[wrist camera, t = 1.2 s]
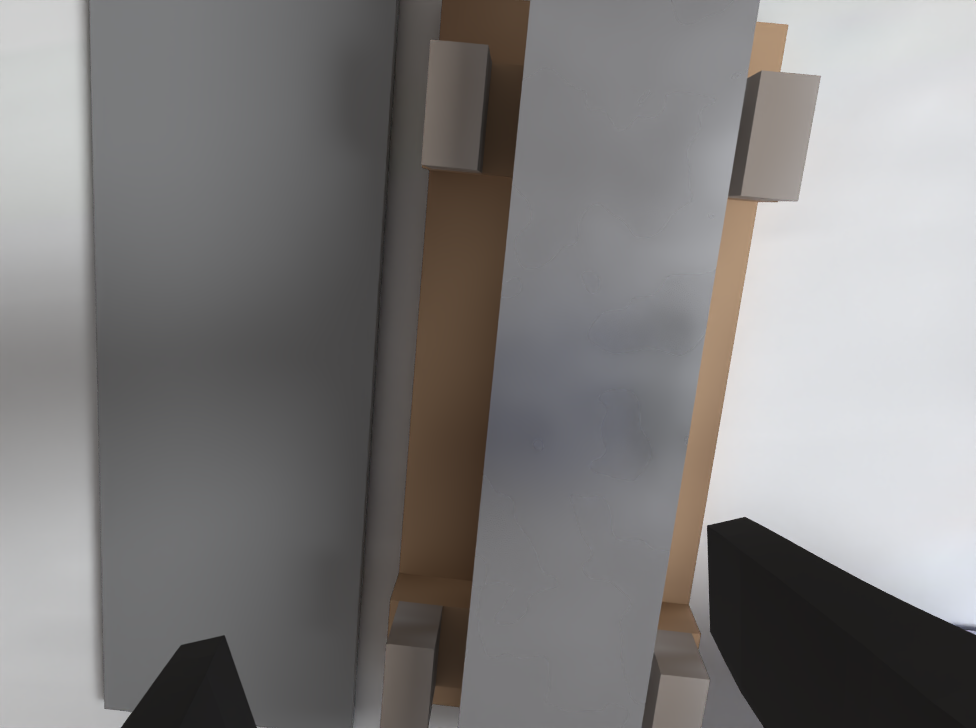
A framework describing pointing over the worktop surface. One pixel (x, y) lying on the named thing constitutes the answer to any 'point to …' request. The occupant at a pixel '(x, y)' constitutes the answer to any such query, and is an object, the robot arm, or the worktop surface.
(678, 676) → the rail stand
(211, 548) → the mat
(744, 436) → the worktop surface
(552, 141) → the rail
